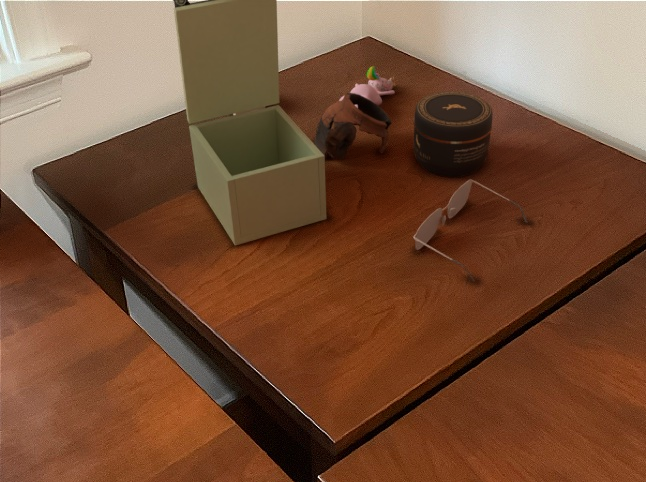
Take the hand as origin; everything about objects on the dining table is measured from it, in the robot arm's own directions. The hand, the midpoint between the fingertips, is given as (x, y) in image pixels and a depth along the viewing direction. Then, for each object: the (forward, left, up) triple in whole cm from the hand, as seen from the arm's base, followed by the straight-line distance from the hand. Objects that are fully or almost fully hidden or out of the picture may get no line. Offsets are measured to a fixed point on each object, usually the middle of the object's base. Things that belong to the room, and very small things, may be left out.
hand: (216, 27), depth 96 cm
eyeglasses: (+19, -28, -19) cm, 39 cm away
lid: (0, -4, -2) cm, 5 cm away
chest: (0, -10, -19) cm, 21 cm away
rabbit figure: (+23, +6, -19) cm, 30 cm away
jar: (+26, -12, -19) cm, 34 cm away
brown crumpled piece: (+15, -4, -19) cm, 25 cm away
